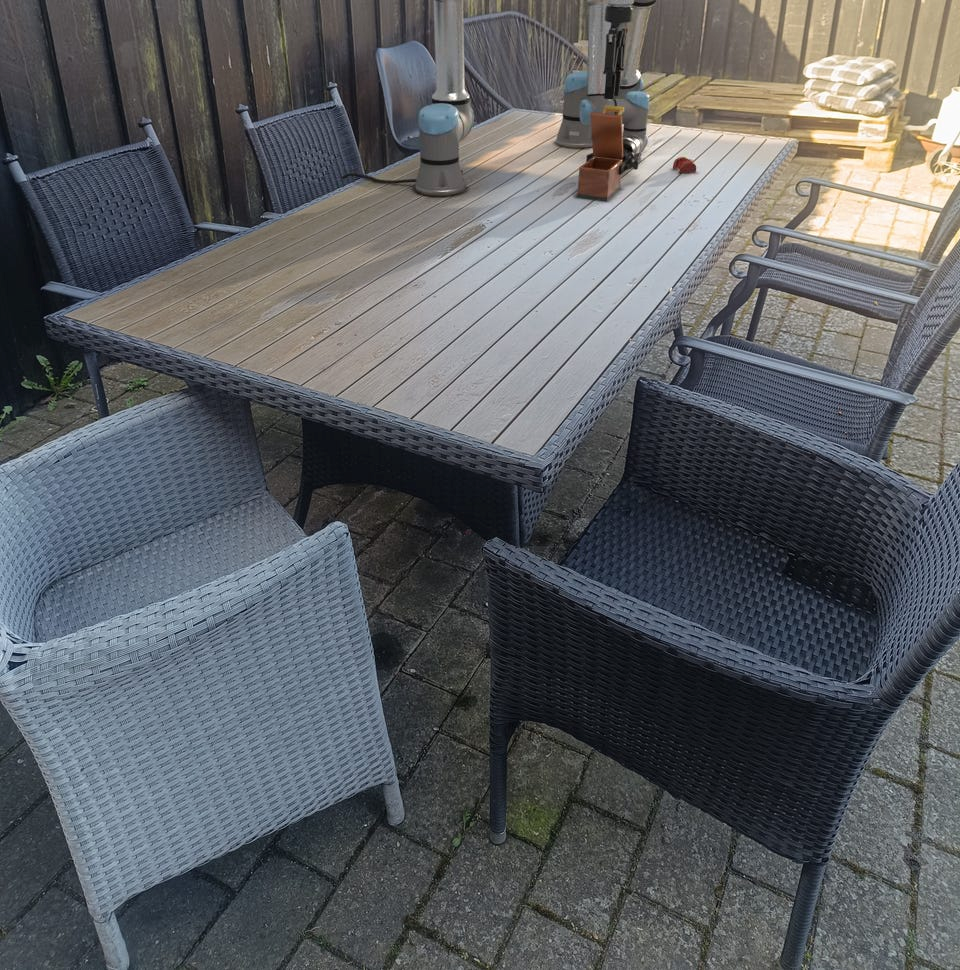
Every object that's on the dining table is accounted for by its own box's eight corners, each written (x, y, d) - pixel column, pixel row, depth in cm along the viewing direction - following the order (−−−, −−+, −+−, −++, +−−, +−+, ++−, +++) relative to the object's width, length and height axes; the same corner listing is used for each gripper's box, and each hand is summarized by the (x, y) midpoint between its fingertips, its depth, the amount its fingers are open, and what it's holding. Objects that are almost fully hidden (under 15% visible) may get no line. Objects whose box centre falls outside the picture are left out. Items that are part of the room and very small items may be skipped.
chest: (606, 201, 249) (609, 171, 244) (577, 197, 252) (579, 167, 247) (620, 188, 259) (622, 159, 254) (591, 185, 262) (593, 156, 257)
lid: (620, 117, 242) (629, 98, 245) (590, 114, 245) (599, 96, 248) (622, 158, 254) (630, 140, 257) (593, 155, 257) (601, 137, 260)
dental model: (688, 153, 276) (699, 160, 270) (686, 166, 279) (697, 173, 272) (672, 155, 275) (682, 161, 269) (670, 168, 278) (681, 175, 271)
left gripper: (624, 9, 223) (615, 104, 237) (641, 2, 236) (632, 92, 250) (596, 8, 226) (590, 101, 239) (615, 1, 239) (607, 90, 252)
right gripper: (657, 166, 270) (638, 185, 253) (591, 159, 277) (569, 176, 261) (660, 142, 266) (641, 159, 249) (593, 135, 273) (570, 151, 256)
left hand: (611, 97), depth 245 cm, fingers open, 4 cm apart
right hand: (604, 168), depth 255 cm, fingers closed on chest, 9 cm apart
